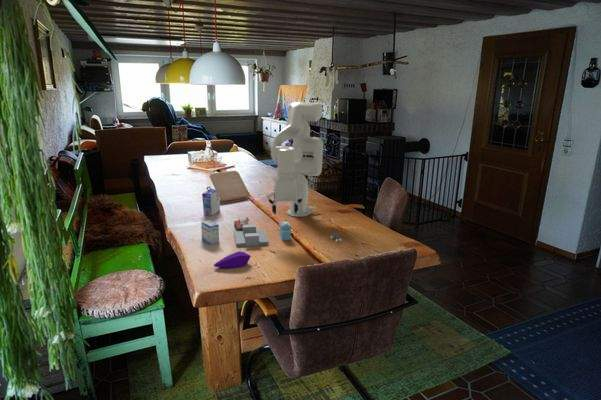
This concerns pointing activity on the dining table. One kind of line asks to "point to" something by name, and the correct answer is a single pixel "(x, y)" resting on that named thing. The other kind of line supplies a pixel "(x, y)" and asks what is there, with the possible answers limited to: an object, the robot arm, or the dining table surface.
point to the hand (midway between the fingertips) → (285, 212)
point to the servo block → (285, 230)
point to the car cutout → (336, 237)
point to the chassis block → (250, 236)
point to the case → (229, 186)
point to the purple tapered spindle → (233, 260)
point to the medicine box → (210, 232)
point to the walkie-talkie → (241, 224)
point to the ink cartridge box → (211, 201)
